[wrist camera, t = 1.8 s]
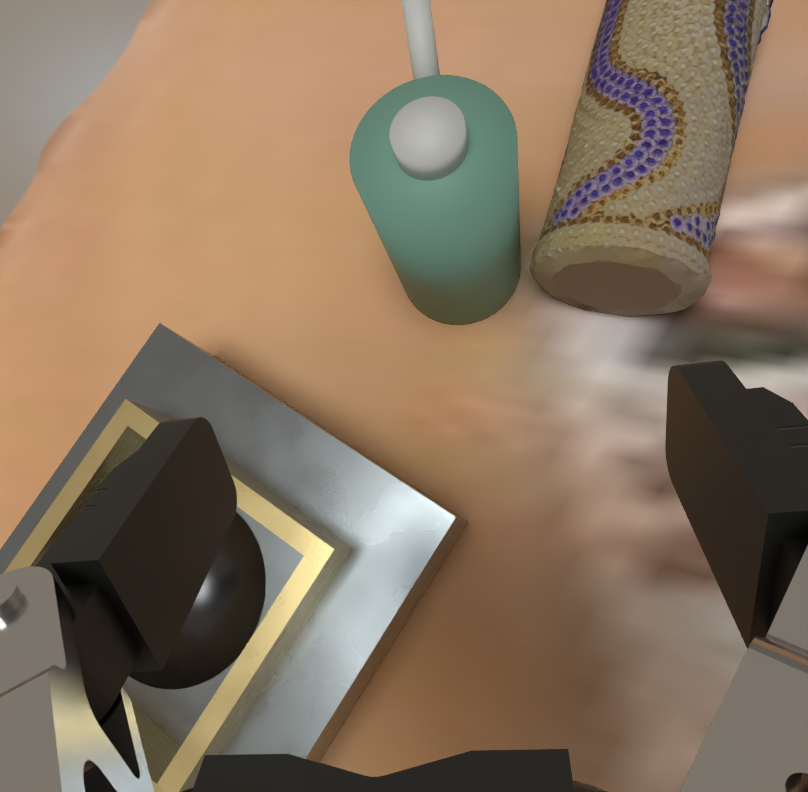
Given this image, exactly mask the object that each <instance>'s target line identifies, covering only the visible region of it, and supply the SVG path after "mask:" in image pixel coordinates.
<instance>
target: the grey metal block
mask: <svg viewBox="0 0 808 792" xmlns="http://www.w3.org/2000/svg"><path fill="white" fill-rule="evenodd" d="M197 417H203V418H205V419H207V420H208V421H209V423H210V424H211V426H212V428H213V430H214V433H215V435H216V438H217V440H218V443H219V445H220V448H221V451H222V453H223V456H224V458H225V461H226V463H227V466H228V468H229V471H230V473H231V476H232V478H233V481H234V484H235V487H236V493H237V508H236V513H235V517H234V519H233V521H232V524H231V526H230V528H229V530H228V532H227V534H226V536H225V538H224V541H223V543H222V545H221V547H220V549H219V551H218V553H217V555H216V558H215V560H214V562H213V564H212V566H211V568H210V570H209V572H208V575H207V577H206V579H205V581H204V583H203V585H202V587H201V589H200V592H199V594H198V596H197V598H196V600H195V602H194V604H193V606H192V609H191V611H190V613H189V615H188V617H187V619H186V621H185V623H184V626H183V628H182V630H181V632H180V634H179V636H178V638H177V640H176V643H175V645H174V647H173V649H172V651H171V653H170V655H169V657H168V660H167V662H166V664H165V666H164V668H163V670H162V671H143V672H130V674H129V676H128V678H127V679H126V681H125V683H124V685H123V687H124V688H125V690H126V691H127V693H128V694H129V697H130V699H131V702H132V706H133V710H134V714H135V718H136V722H137V726H138V730H139V734H140V738H141V742H142V746H143V750H144V754H145V758H146V762H147V766H148V770H149V774H150V778H151V781H152V785H153V789H154V792H182V791H184V790H187V789H190V788H193V787H194V784H195V781H196V778H197V776H198V773H199V770H200V767H201V764H202V762H203V759H204V756H205V755H239V754H290V755H294V756H297V757H301V758H304V759H308V760H311V761H315V762H318V763H319V762H320V760H321V758H322V757H323V755H324V754H325V752H326V750H327V749H328V747H329V746H330V744H331V742H332V741H333V739H334V738H335V736H336V734H337V733H338V731H339V729H340V728H341V726H342V725H343V723H344V721H345V720H346V718H347V717H348V715H349V713H350V712H351V710H352V708H353V707H354V705H355V704H356V702H357V700H358V699H359V697H360V696H361V694H362V692H363V691H364V689H365V688H366V686H367V684H368V683H369V681H370V679H371V678H372V676H373V675H374V673H375V671H376V670H377V668H378V667H379V665H380V663H381V662H382V660H383V658H384V657H385V655H386V654H387V652H388V650H389V649H390V647H391V646H392V644H393V642H394V641H395V639H396V638H397V636H398V634H399V633H400V631H401V629H402V628H403V626H404V625H405V623H406V621H407V620H408V618H409V617H410V615H411V613H412V612H413V610H414V608H415V607H416V605H417V604H418V602H419V600H420V599H421V597H422V596H423V594H424V592H425V591H426V589H427V588H428V586H429V584H430V583H431V581H432V579H433V578H434V576H435V575H436V573H437V571H438V570H439V568H440V567H441V565H442V563H443V562H444V560H445V558H446V557H447V555H448V554H449V552H450V550H451V549H452V547H453V546H454V544H455V542H456V541H457V539H458V537H459V536H460V534H461V533H462V531H463V529H464V528H465V526H466V525H467V523H468V522H467V521H465V520H464V519H462V518H460V517H459V516H457V515H456V514H454V513H453V512H451V511H450V510H448V509H447V508H445V507H444V506H442V505H441V504H439V503H438V502H436V501H434V500H433V499H431V498H430V497H428V496H427V495H425V494H424V493H422V492H421V491H419V490H418V489H416V488H415V487H413V486H412V485H410V484H408V483H407V482H405V481H404V480H402V479H401V478H399V477H398V476H396V475H395V474H393V473H392V472H390V471H389V470H387V469H386V468H384V467H382V466H381V465H379V464H378V463H376V462H375V461H373V460H372V459H370V458H369V457H367V456H366V455H364V454H363V453H361V452H360V451H358V450H356V449H355V448H353V447H352V446H350V445H349V444H347V443H346V442H344V441H343V440H341V439H340V438H338V437H337V436H335V435H334V434H332V433H330V432H329V431H327V430H326V429H324V428H323V427H321V426H320V425H318V424H317V423H315V422H314V421H312V420H311V419H309V418H308V417H306V416H304V415H303V414H301V413H300V412H298V411H297V410H295V409H294V408H292V407H291V406H289V405H288V404H286V403H285V402H283V401H282V400H280V399H278V398H277V397H275V396H274V395H272V394H271V393H269V392H268V391H266V390H265V389H263V388H262V387H260V386H259V385H257V384H256V383H254V382H252V381H251V380H249V379H248V378H246V377H245V376H243V375H242V374H240V373H239V372H237V371H236V370H234V369H233V368H231V367H229V366H228V365H226V364H225V363H223V362H222V361H220V360H219V359H217V358H216V357H214V356H213V355H211V354H209V353H208V352H206V351H204V350H203V349H201V348H200V347H198V346H196V345H195V344H193V343H191V342H190V341H188V340H187V339H185V338H183V337H182V336H180V335H178V334H177V333H175V332H173V331H172V330H170V329H169V328H167V327H165V326H164V325H162V324H160V323H159V325H158V326H157V327H156V329H155V330H154V332H153V333H152V335H151V336H150V337H149V339H148V340H147V342H146V343H145V345H144V346H143V347H142V349H141V350H140V352H139V353H138V355H137V356H136V357H135V359H134V360H133V362H132V363H131V364H130V366H129V367H128V369H127V370H126V372H125V373H124V374H123V376H122V377H121V379H120V380H119V382H118V383H117V384H116V386H115V387H114V389H113V390H112V392H111V393H110V394H109V396H108V397H107V399H106V400H105V401H104V403H103V404H102V406H101V407H100V409H99V410H98V411H97V413H96V414H95V416H94V417H93V419H92V420H91V421H90V423H89V424H88V426H87V427H86V429H85V430H84V431H83V433H82V434H81V436H80V437H79V439H78V440H77V441H76V443H75V444H74V446H73V447H72V448H71V450H70V451H69V453H68V454H67V456H66V457H65V458H64V460H63V461H62V463H61V464H60V466H59V467H58V468H57V470H56V471H55V473H54V474H53V476H52V477H51V478H50V480H49V481H48V483H47V484H46V485H45V487H44V488H43V490H42V491H41V493H40V494H39V495H38V497H37V498H36V500H35V501H34V503H33V504H32V505H31V507H30V508H29V510H28V511H27V513H26V514H25V515H24V517H23V518H22V520H21V521H20V523H19V524H18V525H17V527H16V528H15V530H14V531H13V532H12V534H11V535H10V537H9V538H8V540H7V541H6V542H5V544H4V545H3V547H2V548H1V550H0V575H1V574H4V573H6V572H9V571H12V570H15V569H19V568H23V567H31V566H36V565H37V563H38V562H39V561H40V560H41V558H42V557H43V556H44V555H45V553H46V552H47V551H48V550H49V548H50V547H51V546H52V545H53V543H54V542H55V541H56V540H57V538H58V537H59V536H60V535H61V533H62V532H63V531H64V530H65V528H66V527H67V526H68V525H69V523H70V522H71V521H72V519H73V518H74V517H75V516H76V514H77V513H78V512H79V511H80V510H84V504H85V503H86V502H87V501H88V499H89V498H90V497H91V496H92V494H93V493H97V488H98V487H99V486H100V484H101V483H102V482H103V481H104V479H105V478H106V477H107V476H108V474H109V473H110V472H111V471H112V469H113V468H115V467H116V466H117V465H119V464H120V463H121V462H123V461H124V460H125V459H127V458H128V457H129V456H131V455H132V454H133V453H135V452H136V451H138V450H139V448H140V447H141V446H142V444H143V443H144V442H145V441H146V439H147V438H148V437H149V435H150V434H151V433H152V432H153V430H154V429H155V428H156V426H157V425H158V424H159V423H161V422H163V421H170V420H179V419H188V418H197Z"/></svg>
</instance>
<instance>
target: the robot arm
mask: <svg viewBox="0 0 808 792" xmlns="http://www.w3.org/2000/svg"><path fill="white" fill-rule="evenodd" d="M666 459H667V466H668V471H669V475H670V478H671V481H672V484H673V486H674V488H675V490H676V493H677V495H678V497H679V499H680V501H681V504H682V506H683V508H684V510H685V512H686V515H687V517H688V519H689V521H690V523H691V526H692V528H693V530H694V532H695V534H696V537H697V539H698V541H699V543H700V545H701V548H702V550H703V552H704V554H705V556H706V559H707V561H708V563H709V565H710V567H711V570H712V572H713V574H714V576H715V578H716V581H717V583H718V585H719V587H720V589H721V592H722V594H723V596H724V598H725V600H726V603H727V605H728V607H729V609H730V611H731V614H732V616H733V618H734V620H735V622H736V625H737V627H738V629H739V631H740V633H741V636H742V638H743V640H744V642H745V644H746V647H747V651H746V653H745V655H744V657H743V659H742V662H741V664H740V666H739V668H738V670H737V672H736V674H735V676H734V678H733V681H732V683H731V685H730V687H729V689H728V691H727V693H726V695H725V697H724V699H723V702H722V704H721V706H720V708H719V710H718V712H717V714H716V716H715V718H714V721H713V723H712V725H711V727H710V729H709V731H708V733H707V735H706V737H705V740H704V742H703V744H702V746H701V748H700V750H699V752H698V754H697V756H696V759H695V761H694V763H693V765H692V767H691V769H690V771H689V773H688V775H687V777H686V780H685V782H684V784H683V786H682V788H681V790H680V792H808V420H807V419H806V418H805V417H804V415H803V414H802V413H801V412H800V411H799V410H798V408H797V407H796V406H795V405H794V404H793V403H791V402H790V401H788V400H786V399H784V398H782V397H780V396H778V395H777V394H775V393H773V392H771V391H769V390H767V389H765V388H764V387H761V388H751V389H746V388H745V387H744V386H743V384H742V383H741V382H740V380H739V379H738V378H737V377H736V375H735V374H734V373H733V371H732V370H731V369H730V368H729V366H728V365H727V364H726V363H725V362H724V361H712V362H703V363H694V364H685V365H676V366H672V367H671V369H670V372H669V377H668V395H667V421H666ZM236 508H237V493H236V487H235V484H234V481H233V478H232V476H231V473H230V471H229V468H228V466H227V463H226V461H225V458H224V456H223V453H222V451H221V448H220V445H219V443H218V440H217V438H216V435H215V433H214V430H213V428H212V426H211V424H210V423H209V421H208V420H207V419H205V418H203V417H197V418H188V419H179V420H170V421H163V422H161V423H159V424H158V425H157V426H156V428H155V429H154V430H153V432H152V433H151V434H150V435H149V437H148V438H147V439H146V441H145V442H144V443H143V444H142V446H141V447H140V448H139V450H138V451H136V452H135V453H133V454H132V455H131V456H129V457H128V458H127V459H125V460H124V461H123V462H121V463H120V464H119V465H117V466H116V467H115V468H113V469H112V471H111V472H110V473H109V474H108V476H107V477H106V478H105V479H104V481H103V482H102V483H101V484H100V486H99V487H98V488H97V493H93V494H92V496H91V497H90V498H89V499H88V501H87V502H86V503H85V504H84V510H80V511H79V512H78V513H77V514H76V516H75V517H74V518H73V519H72V521H71V522H70V523H69V525H68V526H67V527H66V528H65V530H64V531H63V532H62V533H61V535H60V536H59V537H58V538H57V540H56V541H55V542H54V543H53V545H52V546H51V547H50V548H49V550H48V551H47V552H46V553H45V555H44V556H43V557H42V558H41V560H40V561H39V562H38V563H37V565H36V566H31V567H23V568H19V569H15V570H12V571H9V572H6V573H4V574H1V575H0V792H154V789H153V785H152V781H151V778H150V774H149V770H148V766H147V762H146V758H145V754H144V750H143V746H142V742H141V738H140V734H139V730H138V726H137V722H136V718H135V714H134V710H133V706H132V702H131V699H130V697H129V694H128V693H127V691H126V690H125V688H124V687H123V685H124V683H125V681H126V679H127V678H128V676H129V674H130V672H143V671H162V670H163V668H164V666H165V664H166V662H167V660H168V657H169V655H170V653H171V651H172V649H173V647H174V645H175V643H176V640H177V638H178V636H179V634H180V632H181V630H182V628H183V626H184V623H185V621H186V619H187V617H188V615H189V613H190V611H191V609H192V606H193V604H194V602H195V600H196V598H197V596H198V594H199V592H200V589H201V587H202V585H203V583H204V581H205V579H206V577H207V575H208V572H209V570H210V568H211V566H212V564H213V562H214V560H215V558H216V555H217V553H218V551H219V549H220V547H221V545H222V543H223V541H224V538H225V536H226V534H227V532H228V530H229V528H230V526H231V524H232V521H233V519H234V517H235V513H236ZM182 792H607V791H604V790H602V789H599V788H597V787H594V786H591V785H588V784H584V783H580V782H577V781H573V780H572V774H571V767H570V760H569V753H568V749H547V750H485V751H469V752H466V753H462V754H459V755H455V756H452V757H448V758H445V759H441V760H438V761H434V762H431V763H427V764H424V765H420V766H417V767H413V768H410V769H406V770H403V771H399V772H396V773H392V774H389V775H385V776H380V777H369V776H364V775H360V774H357V773H353V772H350V771H346V770H343V769H339V768H336V767H332V766H329V765H325V764H322V763H318V762H315V761H311V760H308V759H304V758H301V757H297V756H294V755H290V754H239V755H205V756H204V759H203V762H202V764H201V767H200V770H199V773H198V776H197V778H196V781H195V784H194V787H193V788H190V789H187V790H184V791H182Z"/></svg>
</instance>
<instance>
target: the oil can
mask: <svg viewBox="0 0 808 792" xmlns="http://www.w3.org/2000/svg"><path fill="white" fill-rule="evenodd" d="M401 1H402V7H403V14H404V20H405V27H406V33H407V40H408V46H409V53H410V59H411V65H412V72H413V78H414V80H412V81H409V82H407V83H404V84H402V85H400V86H398V87H396V88H394V89H393V90H391V91H390V92H388V93H387V94H385V95H384V96H383V97H381V98H380V99H379V100H378V101H377V102H376V103H375V104H374V105H373V106H372V107H371V108H370V109H369V110H368V111H367V113H366V114H365V115H364V117H363V118H362V120H361V122H360V123H359V125H358V127H357V129H356V131H355V133H354V137H353V140H352V143H351V149H350V170H351V175H352V178H353V181H354V184H355V186H356V188H357V190H358V192H359V194H360V197H361V199H362V201H363V203H364V205H365V207H366V209H367V211H368V213H369V215H370V218H371V220H372V222H373V224H374V226H375V228H376V230H377V232H378V234H379V236H380V238H381V241H382V243H383V245H384V247H385V249H386V251H387V253H388V255H389V257H390V259H391V262H392V264H393V266H394V268H395V270H396V272H397V274H398V276H399V278H400V280H401V283H402V285H403V287H404V289H405V291H406V293H407V295H408V297H409V299H410V300H411V302H412V303H413V305H414V306H415V307H416V308H417V309H418V310H419V311H420V312H421V313H423V314H424V315H426V316H427V317H429V318H431V319H433V320H435V321H438V322H441V323H445V324H451V325H465V324H471V323H475V322H478V321H481V320H483V319H486V318H488V317H490V316H491V315H493V314H494V313H496V312H497V311H498V310H500V309H501V308H502V307H503V306H504V305H505V304H506V303H507V302H508V300H509V299H510V298H511V296H512V295H513V293H514V291H515V289H516V287H517V284H518V281H519V277H520V270H521V261H520V223H519V185H518V147H517V131H516V126H515V122H514V119H513V116H512V114H511V112H510V110H509V109H508V107H507V105H506V104H505V103H504V101H503V100H502V99H501V98H500V97H499V96H498V95H497V94H496V93H495V92H494V91H492V90H491V89H489V88H488V87H487V86H485V85H483V84H481V83H479V82H477V81H474V80H471V79H468V78H464V77H460V76H452V75H440V71H439V64H438V57H437V49H436V42H435V34H434V27H433V20H432V12H431V5H430V0H401Z"/></svg>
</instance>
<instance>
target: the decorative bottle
mask: <svg viewBox="0 0 808 792" xmlns="http://www.w3.org/2000/svg"><path fill="white" fill-rule="evenodd" d="M766 3H767V0H606V4H605V7H604V11H603V14H602V18H601V22H600V25H599V29H598V32H597V35H596V38H595V41H594V45H593V49H592V53H591V57H590V61H589V65H588V68H587V71H586V75H585V79H584V83H583V86H582V93H581V96H580V99H579V102H578V105H577V109H576V112H575V115H574V121H573V124H572V127H571V132H570V137H569V142H568V146H567V149H566V152H565V156H564V160H563V161H562V165H561V169H560V173H559V177H558V180H557V185H556V186H555V189H554V194H553V197H552V200H551V204H550V207H549V210H548V214H547V217H546V220H545V224H544V227H543V229H542V231H541V236H540V241H539V243H538V244H537V246H536V247H535V249H534V252H533V258H532V263H531V265H530V271H531V274H532V276H533V277H534V278H535V280H536V281H537V282H538V283H539V285H540V286H541V287H542V288H543V289H544V290H546V291H548V292H549V294H550V295H551V296H552V297H555V298H559V299H561V300H562V301H564V302H566V303H568V304H570V305H573V306H576V307H579V308H581V309H584V310H591V311H597V312H603V313H609V314H617V315H625V316H639V315H653V314H664V313H671V312H677V311H680V310H683V309H685V308H687V307H689V306H690V305H691V304H692V303H694V302H695V301H696V300H698V299H699V298H700V297H702V296H703V295H704V294H705V292H706V289H707V287H708V285H709V283H710V280H711V272H710V266H709V261H710V256H711V246H712V243H713V240H714V238H715V229H716V225H717V222H718V219H719V215H720V208H721V203H722V198H723V194H724V190H725V185H726V180H727V175H728V171H729V167H730V162H731V157H732V153H733V150H734V145H735V140H736V137H737V132H738V127H739V123H740V119H741V116H742V112H743V108H744V104H745V100H744V97H745V95H746V92H747V88H748V85H749V81H750V77H751V72H752V68H753V63H754V59H755V54H756V49H757V45H758V44H759V43H760V41H761V35H762V33H763V32H764V31H765V30H766V29H767V27H768V23H769V20H770V16H771V11H770V8H771V6H772V3H773V0H769V5H766Z"/></svg>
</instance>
